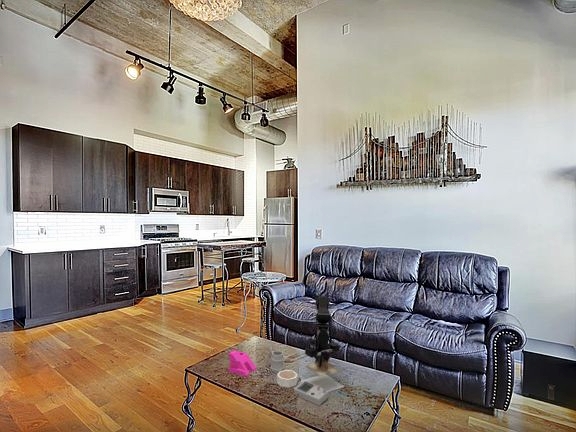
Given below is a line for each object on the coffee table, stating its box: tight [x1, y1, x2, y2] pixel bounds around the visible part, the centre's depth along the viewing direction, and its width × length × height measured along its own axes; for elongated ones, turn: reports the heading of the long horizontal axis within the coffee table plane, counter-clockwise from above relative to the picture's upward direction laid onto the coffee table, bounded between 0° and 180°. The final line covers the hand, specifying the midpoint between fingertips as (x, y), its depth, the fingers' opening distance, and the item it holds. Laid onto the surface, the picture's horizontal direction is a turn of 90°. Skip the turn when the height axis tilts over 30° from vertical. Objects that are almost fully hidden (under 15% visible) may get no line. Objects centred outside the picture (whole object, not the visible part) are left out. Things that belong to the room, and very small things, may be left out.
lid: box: [305, 358, 340, 377], centre depth 168 cm, size 12×12×5 cm
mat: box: [300, 374, 345, 393], centre depth 168 cm, size 16×16×1 cm
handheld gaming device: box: [293, 381, 329, 407], centre depth 156 cm, size 9×15×4 cm, turn 51°
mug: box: [266, 345, 285, 374], centre depth 184 cm, size 8×12×12 cm, turn 47°
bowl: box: [276, 369, 299, 388], centre depth 169 cm, size 10×10×4 cm
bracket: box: [227, 349, 257, 378], centre depth 182 cm, size 12×10×10 cm
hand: (322, 366), depth 168 cm, fingers closed on lid, 3 cm apart
